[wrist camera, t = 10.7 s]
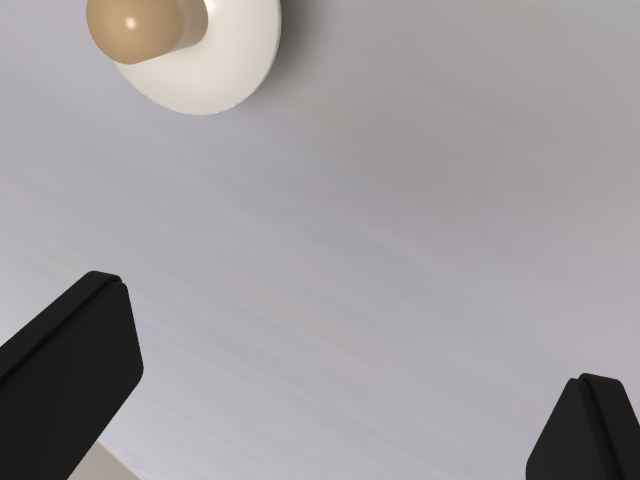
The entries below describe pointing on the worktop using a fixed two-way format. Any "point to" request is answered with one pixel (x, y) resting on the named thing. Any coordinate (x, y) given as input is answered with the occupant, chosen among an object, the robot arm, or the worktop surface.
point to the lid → (189, 48)
